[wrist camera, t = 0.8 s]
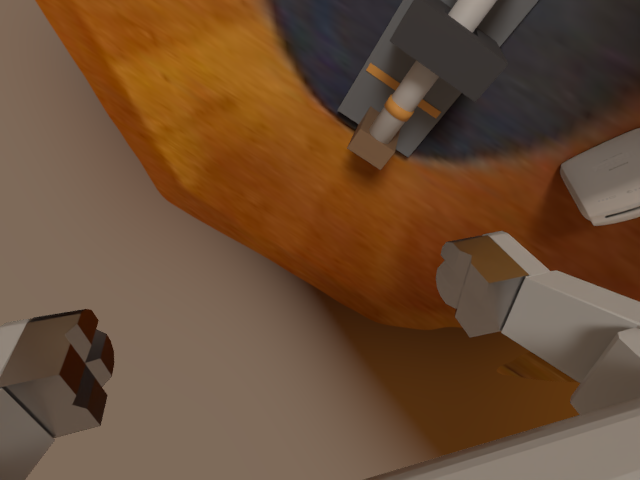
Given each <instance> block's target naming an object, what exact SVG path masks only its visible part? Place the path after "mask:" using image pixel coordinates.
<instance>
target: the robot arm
mask: <svg viewBox="0 0 640 480" xmlns="http://www.w3.org/2000/svg"><path fill="white" fill-rule="evenodd" d="M441 256H442V257H443V259H444V260H445V261H444V262H443V263H442V264H441V265H440V266H439V267H438V269H437V274H436V283H437V289H438V291H439V293H440V296H441V297H442V299H443V300H444V302H445V303H446V304H448V305H450V306H451V307H453V308H455V309H456V313H455V317H456V319H457V320H458V322H459V323H460V324H461V326H462V327H463V329H464V330H465V331H466V333H467V334H468V336H469V337H475V336H479V335H484V334H489V333H494V332H499V331H502V333H503V334H504V335H506V336H507V337H509V338H511V339H512V340H514V341H515V342H517V343H518V344H520V345H522V346H523V347H525V348H526V349H528V350H529V351H531V352H532V353H534V354H535V355H537V356H539V357H540V358H542V359H543V360H545V361H546V362H548V363H550V364H551V365H553V366H554V367H556V368H557V369H559V370H560V371H562V372H564V373H565V374H567V375H568V376H570V377H571V378H573V379H575V380H576V381H578V382H579V383H581V384H580V385H579V386H578V388H577V389H576V390H575V392H574V393H573V395H572V396H571V401H570V403H571V404H572V405H573V406H574V408H575V409H576V410H577V411H578V413H579V414H580V415H578V416H575V417H572V418H568V419H565V420H562V421H559V422H555V423H552V424H548V425H545V426H542V427H538V428H535V429H531V430H528V431H525V432H522V433H518V434H515V435H511V436H508V437H504V438H501V439H498V440H495V441H491V442H488V443H484V444H481V445H478V446H474V447H471V448H468V449H464V450H461V451H458V452H454V453H451V454H447V455H444V456H441V457H437V458H434V459H431V460H428V461H424V462H421V463H417V464H414V465H411V466H408V467H404V468H401V469H397V470H394V471H391V472H387V473H384V474H381V475H377V476H374V477H370V478H367V479H364V480H640V302H638V301H636V300H633V299H631V298H628V297H625V296H623V295H620V294H617V293H615V292H612V291H610V290H607V289H604V288H602V287H599V286H596V285H594V284H591V283H589V282H586V281H583V280H581V279H578V278H575V277H573V276H570V275H567V274H565V273H562V272H560V271H557V270H555V271H550V270H549V269H547V268H546V267H545V266H544V265H543V264H542V263H541V262H540V261H538V260H537V259H536V258H535V257H534V256H533V255H532V254H531V253H529V252H528V251H527V250H526V249H525V248H524V247H523V246H522V245H520V244H519V243H518V242H517V241H516V240H515V239H514V238H513V237H511V236H510V235H509V234H508V233H506V232H503V231H499V232H494V233H489V234H484V235H481V236H475V237H470V238H465V239H459V240H454V241H449V242H446V243H445V244H444V246H443V247H442V251H441ZM97 324H98V319H97V317H96V316H95V315H94V313H93V311H92V310H88V309H84V310H77V311H71V312H65V313H59V314H53V315H46V316H41V317H34V318H32V319H26V320H19V321H13V322H7V323H5V324H4V325H2V326H1V327H0V480H25V479H26V478H27V476H28V475H29V474H30V472H31V471H32V470H33V468H34V467H35V465H37V463H38V462H39V460H40V459H41V458H42V456H43V455H44V454H45V453H46V451H47V450H48V449H49V447H50V446H51V444H53V442H54V439H53V438H56V437H60V436H64V435H68V434H72V433H75V432H79V431H83V430H87V429H90V428H94V427H98V426H100V425H101V421H102V417H103V413H104V408H105V404H106V399H107V394H106V393H105V391H104V390H103V388H102V387H103V386H104V384H105V383H106V382H107V381H108V380H109V379H110V378H111V377H112V373H113V367H114V351H113V347H112V344H111V341H110V339H109V337H108V336H107V334H105V333H103V332H101V331H99V330H97V329H96V327H97Z"/></svg>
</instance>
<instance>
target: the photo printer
mask: <svg viewBox="0 0 640 480" xmlns="http://www.w3.org/2000/svg"><path fill="white" fill-rule="evenodd" d="M560 175H561V177H562V179H563V181H564V183H565V185H566V187H567V189H568V190H569V192H570V194H571V196H572V198H573V200H574V201H575V203H576V205H577V207H578V209H579V211H580V212H581V214H582V215H583V216H584V217H585V218H586V219H588V220H589V221H591V222H592V224H593V226H600V225H608V224H613V223H618V222H622V221H626V220H630V219H633V218H637V217H640V128H637V129H634V130H632V131H629V132H627V133H625V134H622V135H620V136H618V137H615V138H613V139H611V140H609V141H606V142H604V143H602V144H600V145H598V146H596V147H593V148H591V149H589V150H587V151H585V152H583V153H581V154H579V155H577V156H575V157H573V158H571V159H569V160H567V161H566V162H564V163H563V164H561V168H560Z"/></svg>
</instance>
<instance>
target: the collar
mask: <svg viewBox="0 0 640 480" xmlns="http://www.w3.org/2000/svg"><path fill="white" fill-rule="evenodd" d="M451 9H452V8H450V7H449V6H448V5H446V4H445V3H444V2H442V1H441V0H414V1H413V2H412V4H411V5H410V7H409V9H408V10H407V12H406V14H405V15H404V17H403V18H402V20H401V22H400V23H399V25H398V27H397V29H396V30H395V32H394V34H393V35H392V37H391V39H390V42H391V43H393V44H394V45H395V46H397V47H398V48H400V49H401V50H402V51H404V52H405V53H407V54H408V55H409V56H411V57H412V58H414V59H415V60H416V61H418V62H419V63H421V64H422V65H423V66H425V67H426V68H428V69H429V70H431V71H432V72H433V73H435V74H436V75H438V76H439V77H440V78H442V79H443V80H445V81H446V82H447V83H449V84H450V85H452V86H453V87H454V88H456V89H457V90H459V91H460V92H461V93H463V94H464V95H466V96H467V97H468V98H470V99H471V100H473V101H474V102H476V101H477V100H478V98H479V97H480V96H481V95H482V94H483V93H484V91H485V90H486V89H487V88H488V87H489V86H490V85H491V83H492V82H493V81H494V80H495V79H496V78H497V77H498V75H499V74H500V73H501V72H502V71H503V70H504V69H505V67H506V66H507V65H508V62H507V60H506V59H505V57H504V55H503V53H502V51H501V49H500V47H499V46H498V44H497V42H496V41H495V40H493V39H492V38H491V37H489V36H488V35H487V34H485V33H484V32H483V31H481V30H480V29H479V28H476V29H475V30H474V32H473V33H472V32H471V31H469V30H468V29H467V28H465V27H464V26H463V25H461V24H460V23H459V22H457V21H456V20H455V19H453V18H452V17H451V16H449V15H448V14H449V12H450V11H451Z"/></svg>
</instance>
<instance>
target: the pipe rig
mask: <svg viewBox="0 0 640 480" xmlns="http://www.w3.org/2000/svg"><path fill="white" fill-rule="evenodd" d="M413 1H414V0H403V1H402V3H401V5H400V6H399V8H398V10H397V11H396V13H395V15H394V16H393V18H392V20H391V21H390V23H389V25H388V26H387V28H386V30H385V31H384V33H383V35H382V36H381V38H380V40H379V42H378V43H377V45H376V47H375V48H374V50H373V52H372V53H371V55H370V57H369V58H368V60H367V62H366V63H365V65H364V67H363V68H362V70H361V72H360V73H359V75H358V77H357V78H356V80H355V82H354V83H353V85H352V87H351V88H350V90H349V92H348V93H347V95H346V97H345V99H344V100H343V102H342V104H341V105H340V107H339V109H338V111H339V112H341V113H342V114H344V115H345V116H347V117H348V118H350V119H351V120H353V121H354V122H356V123H357V124H358V127H357V129H356V131H355V133H354V135H353V137H352V139H351V141H350V143H349V145H348V147H347V149H349V150H351V151H352V152H354V153H355V154H357V155H358V156H360V157H361V158H363V159H364V160H366V161H367V162H369V163H370V164H372V165H373V166H375V167H376V168H378V169H380V170H381V169H382V168H383V166H384V165H385V164H386V163H387V161H388V160H389V159H390V158H391V156H392V155H393V154H394V152H395V150H398V151H399V152H401V153H402V154H404V155H405V156H407V157H409V156H410V155H411V154H412V152H413V151H414V150H415V149H416V148H417V146H418V145H419V144H420V143H421V142H422V140H423V139H424V138H425V137H426V136H427V134H428V133H429V132H430V131H431V129H432V128H433V127H434V126H435V125H436V123H437V122H438V121H439V120H440V119H441V117H442V116H443V115H444V114H445V113H446V111H447V110H448V109H449V108H450V107H451V105H452V104H453V103H454V102H455V100H456V99H457V98H458V97H459V96H460V94H461V92H460V91H459V90H457V89H456V88H454V87H453V86H452V85H450V84H449V83H447V82H446V81H445V80H443V79H442V78H440V77H439V76H438V75H436V74H435V73H433V72H432V71H431V70H429V69H428V68H426V67H425V66H423V65H422V64H421V63H419V62H418V61H416V60H415V59H414V58H412V57H411V56H409V55H408V54H407V53H405V52H404V51H402V50H401V49H400V48H398V47H397V46H395V45H394V44H393V43H391V42H390V39H391V37H392V35H393V34H394V32H395V30H396V29H397V27H398V25H399V23H400V22H401V20H402V18H403V17H404V15H405V14H406V12H407V10H408V9H409V7H410V5H411V4H412V2H413ZM441 1H442V2H444V3H445V4H446V5H448V6H449V7H450V8H452V9H451V11H450V12H449V14H448V15H449V16H451V17H452V18H453V19H455V20H456V21H457V22H459V23H460V24H461V25H463V26H464V27H465V28H467V29H468V30H469V31H471V32H472V33H473V32H474V30H475V29H476V28H479V29H480V30H481V31H483V32H484V33H485V34H487V35H488V36H489V37H491V38H492V39H493V40H495V41H496V42H497V44H498V46H499V47H500V46H501V45H502V44H503V43H504V41H505V40H506V39H507V38H508V36H509V35H510V34H511V33H512V32H513V30H514V29H515V28H516V27H517V26H518V24H519V23H520V22H521V21H522V20H523V18H524V17H525V16H526V15H527V14H528V12H529V11H530V10H531V9H532V7H533V6H534V5H535V4H536V3H537V1H538V0H441Z"/></svg>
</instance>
